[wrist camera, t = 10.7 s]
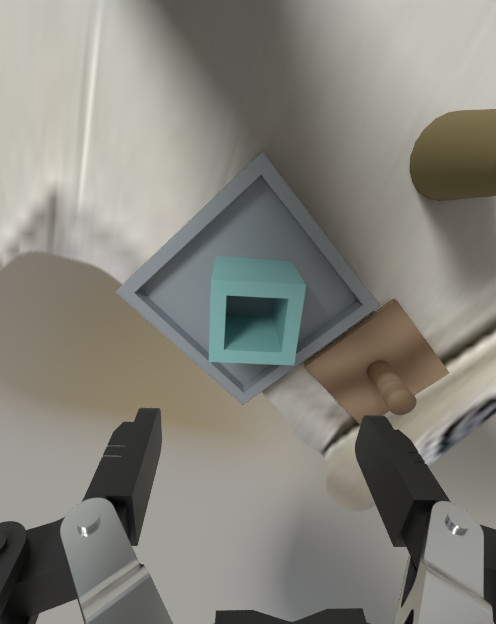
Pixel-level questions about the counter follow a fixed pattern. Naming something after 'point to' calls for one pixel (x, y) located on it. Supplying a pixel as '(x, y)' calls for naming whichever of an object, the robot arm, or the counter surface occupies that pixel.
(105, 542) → the robot arm
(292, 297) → the open box
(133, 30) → the counter surface
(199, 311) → the tray
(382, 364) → the square board with knob
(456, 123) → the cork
